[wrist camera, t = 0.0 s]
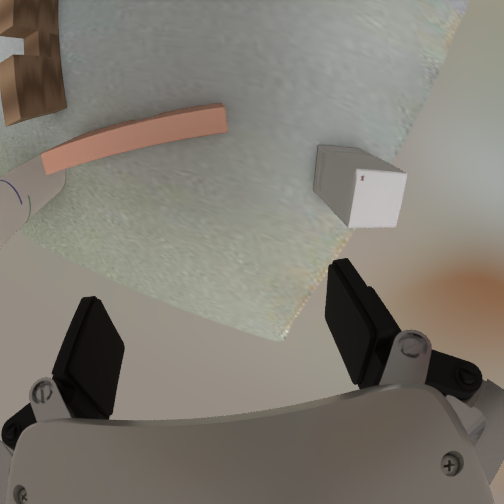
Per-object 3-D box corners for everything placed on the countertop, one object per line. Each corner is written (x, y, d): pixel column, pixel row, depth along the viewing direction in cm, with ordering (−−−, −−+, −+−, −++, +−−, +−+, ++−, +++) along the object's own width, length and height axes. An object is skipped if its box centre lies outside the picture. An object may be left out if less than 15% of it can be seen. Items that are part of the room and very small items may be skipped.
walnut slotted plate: (44, 0, 20) (1, -15, 10) (58, -7, 20) (16, -25, 10) (53, 112, 30) (5, 126, 20) (66, 107, 31) (20, 118, 20)
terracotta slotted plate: (86, 150, 35) (46, 175, 24) (82, 134, 33) (40, 153, 23) (223, 120, 36) (227, 132, 26) (221, 102, 34) (224, 106, 24)
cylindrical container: (55, 145, 33) (-63, 218, 12) (72, 186, 37) (-26, 288, 16) (24, 164, 33) (-84, 244, 12) (41, 202, 37) (-51, 301, 16)
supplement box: (311, 191, 43) (345, 229, 32) (317, 143, 39) (356, 166, 28) (354, 193, 44) (396, 229, 33) (361, 148, 40) (409, 172, 29)
